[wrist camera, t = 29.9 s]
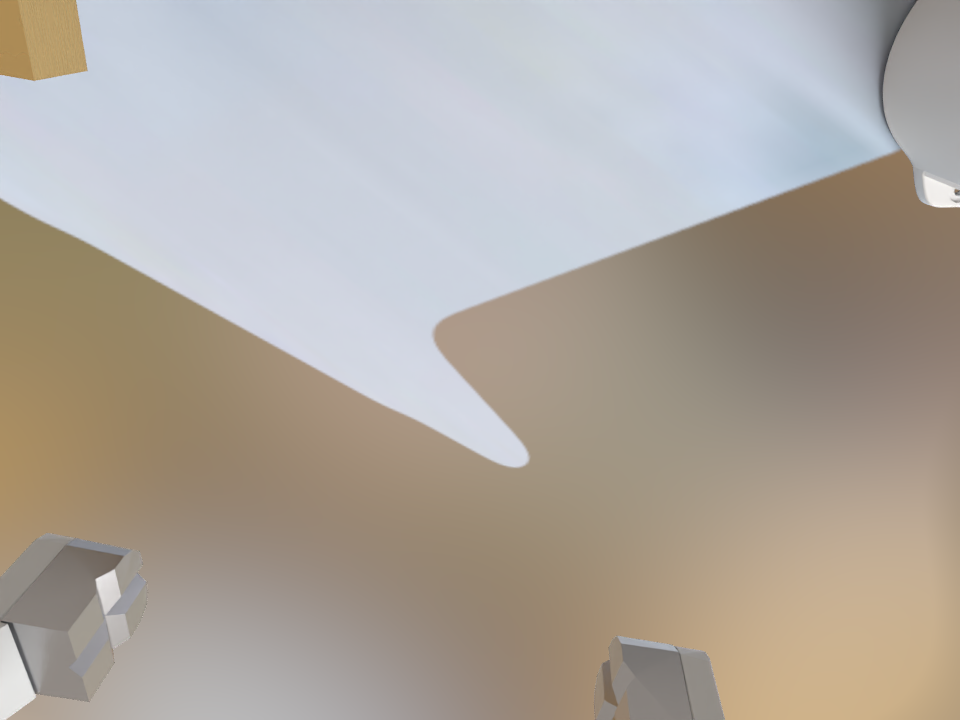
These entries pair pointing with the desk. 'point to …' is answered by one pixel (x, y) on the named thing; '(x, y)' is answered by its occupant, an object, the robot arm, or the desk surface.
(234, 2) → the desk surface
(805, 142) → the desk surface
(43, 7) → the wooden block
